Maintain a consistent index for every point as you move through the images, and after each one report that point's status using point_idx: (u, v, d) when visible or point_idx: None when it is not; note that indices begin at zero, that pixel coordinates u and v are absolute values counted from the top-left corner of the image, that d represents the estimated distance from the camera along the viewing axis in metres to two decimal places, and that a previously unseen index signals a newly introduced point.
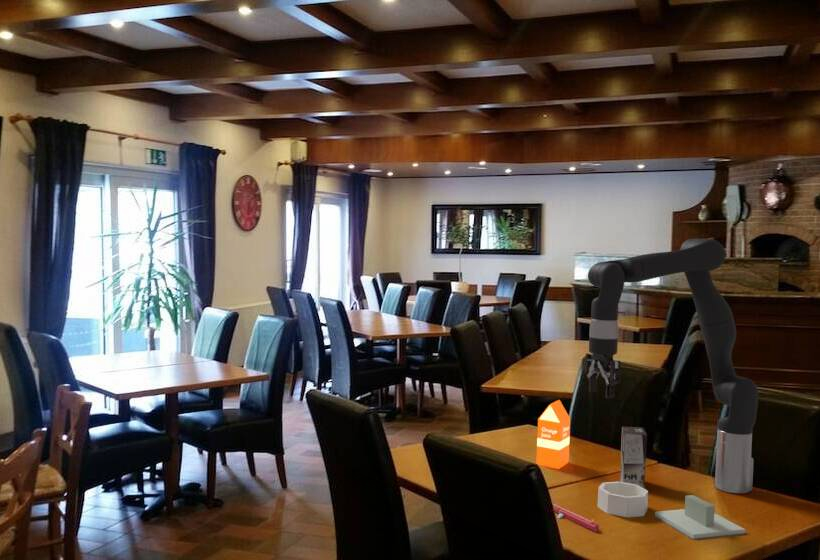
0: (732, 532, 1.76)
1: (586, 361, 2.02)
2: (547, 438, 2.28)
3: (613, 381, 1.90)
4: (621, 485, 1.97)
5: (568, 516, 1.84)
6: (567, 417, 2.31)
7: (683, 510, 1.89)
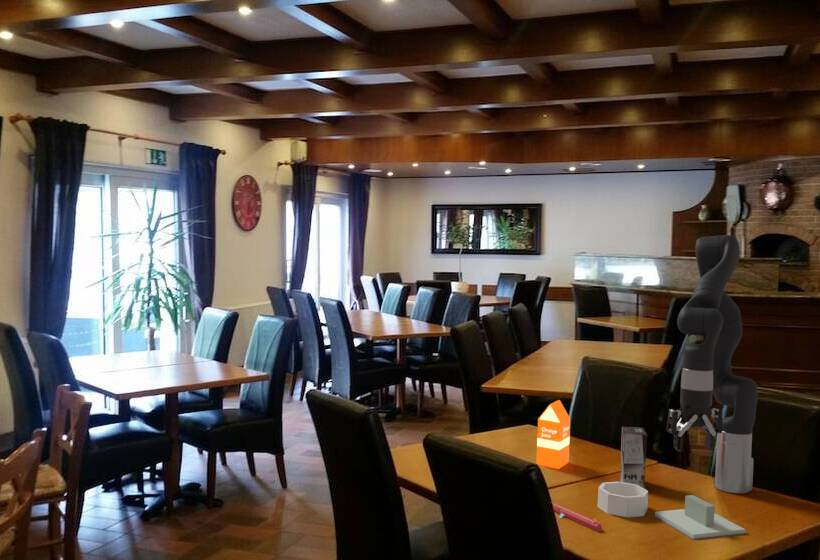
0: (732, 532, 1.76)
1: (675, 419, 1.80)
2: (547, 438, 2.28)
3: None
4: (621, 485, 1.97)
5: (570, 516, 1.84)
6: (567, 417, 2.31)
7: (683, 510, 1.89)
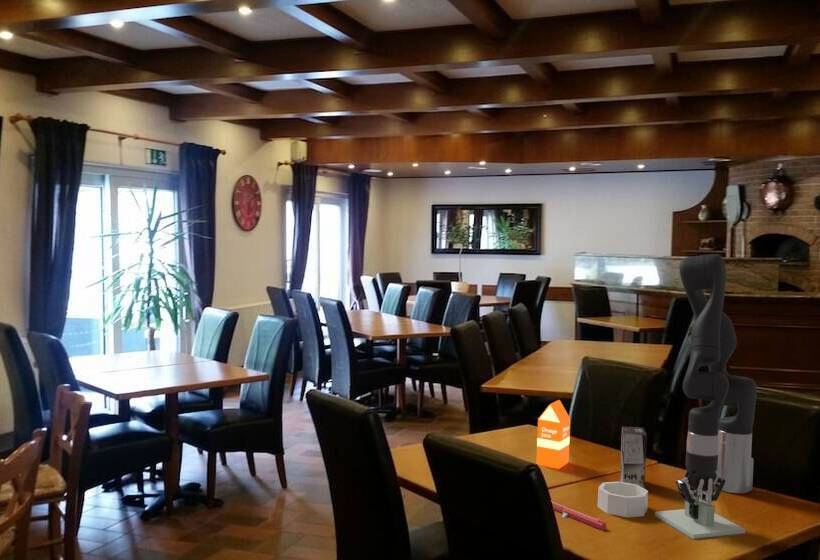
0: (732, 532, 1.76)
1: (686, 490, 1.79)
2: (547, 438, 2.28)
3: None
4: (621, 485, 1.97)
5: (573, 515, 1.85)
6: (567, 417, 2.31)
7: (683, 510, 1.89)
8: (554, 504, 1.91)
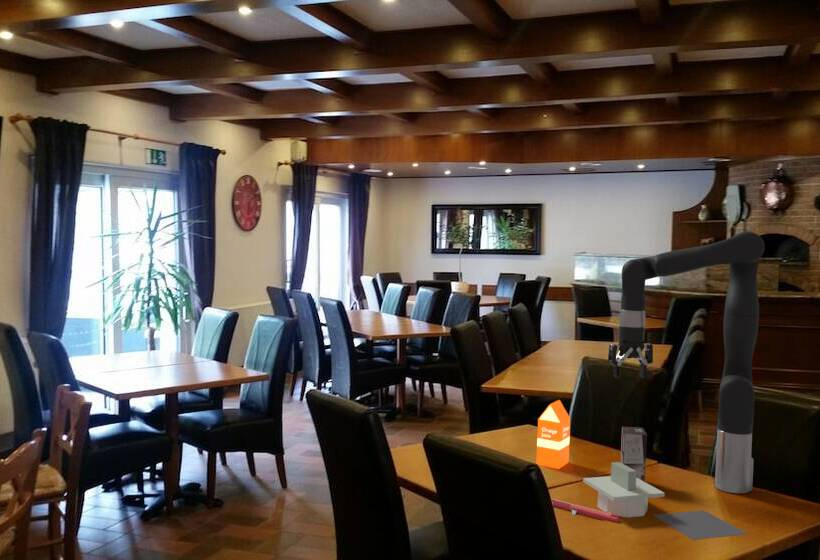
0: (652, 495, 1.86)
1: (615, 351, 2.17)
2: (547, 438, 2.28)
3: None
4: None
5: (583, 511, 1.87)
6: (567, 417, 2.31)
7: (610, 477, 1.99)
8: (560, 502, 1.92)
